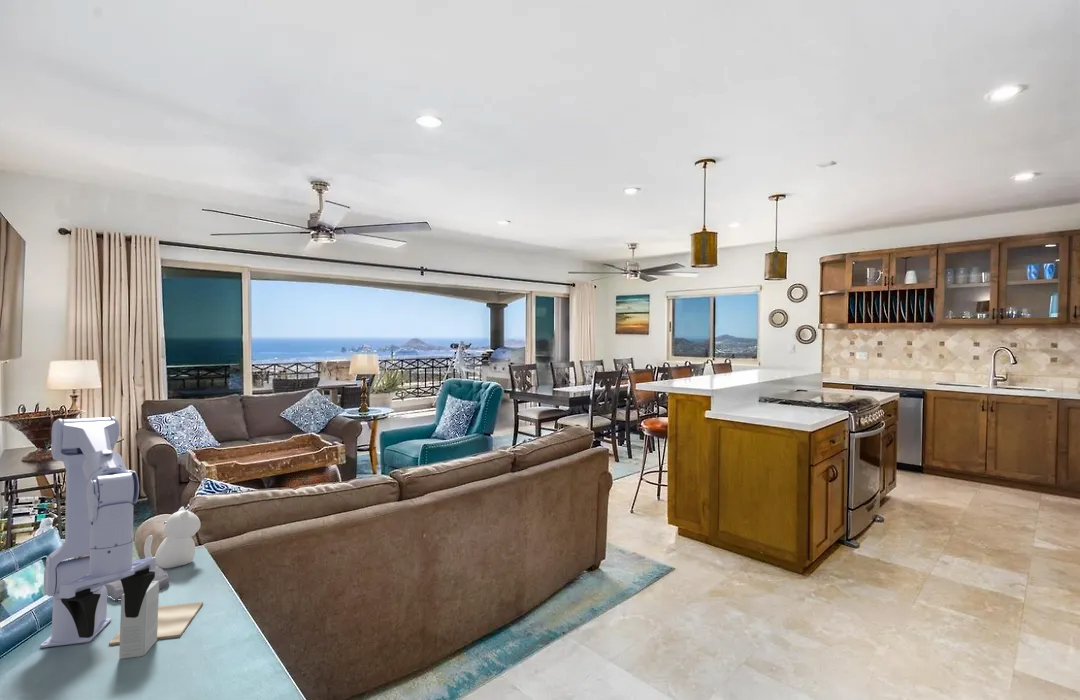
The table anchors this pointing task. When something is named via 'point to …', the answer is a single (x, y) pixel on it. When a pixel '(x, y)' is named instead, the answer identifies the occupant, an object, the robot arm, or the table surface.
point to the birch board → (171, 620)
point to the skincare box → (140, 625)
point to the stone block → (117, 589)
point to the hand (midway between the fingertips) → (109, 626)
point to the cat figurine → (176, 540)
